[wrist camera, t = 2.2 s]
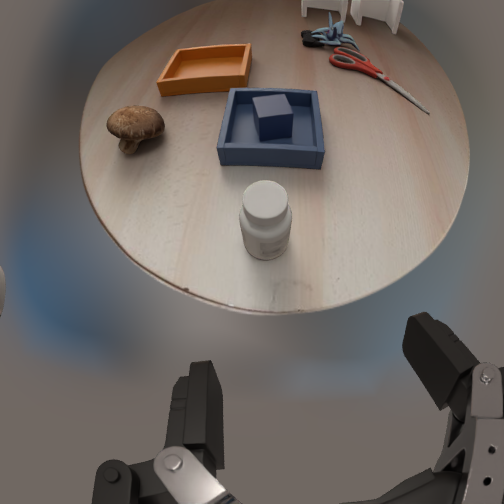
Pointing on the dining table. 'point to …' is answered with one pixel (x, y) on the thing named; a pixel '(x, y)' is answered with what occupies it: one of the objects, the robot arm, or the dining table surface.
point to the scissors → (367, 70)
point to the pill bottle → (265, 219)
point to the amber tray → (206, 69)
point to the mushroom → (135, 126)
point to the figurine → (327, 36)
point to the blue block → (272, 117)
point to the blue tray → (278, 150)
